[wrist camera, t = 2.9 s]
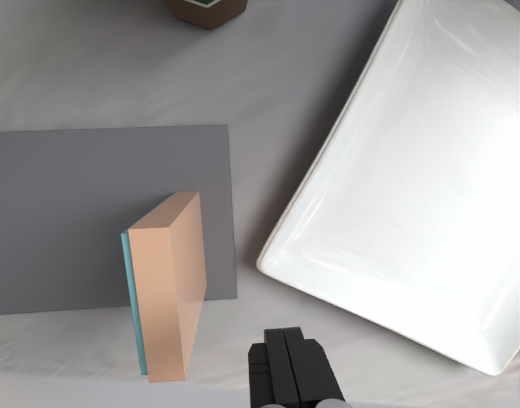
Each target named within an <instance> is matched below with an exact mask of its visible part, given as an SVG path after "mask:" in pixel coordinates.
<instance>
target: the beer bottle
mask: <svg viewBox="0 0 520 408" xmlns="http://www.w3.org/2000/svg"><path fill="white" fill-rule="evenodd" d="M166 2H167V4H168V6H169V8H170V9H171V11H172V12H173V14H174V15H175V17H176V18H178V19H181V20H184V21H187V22H191V23H194V24H197V25H200V26H203V27H206V28H209V29H212V30H214V29H215V28H217V27H219V26H220V25H222V24H224V23H225V22H227V21H229V20H230V19H232V18H234V17H235V16H237V15H239V14H240V13H242V12H244V11H245V9H246V5H247V0H166Z"/></svg>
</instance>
